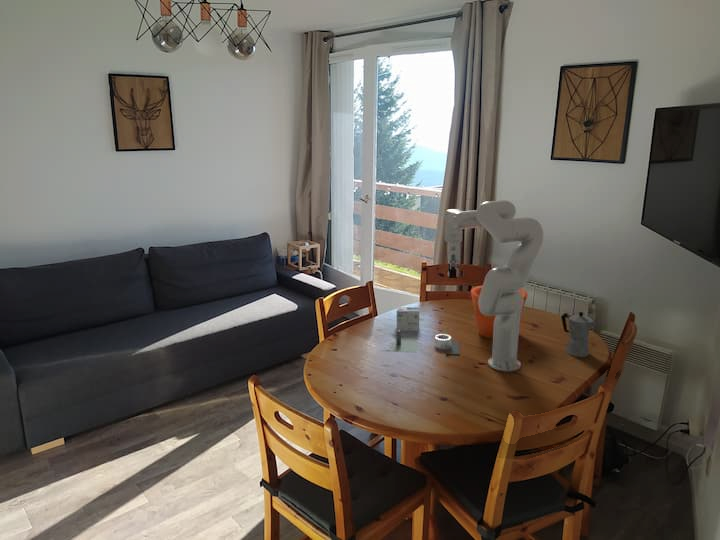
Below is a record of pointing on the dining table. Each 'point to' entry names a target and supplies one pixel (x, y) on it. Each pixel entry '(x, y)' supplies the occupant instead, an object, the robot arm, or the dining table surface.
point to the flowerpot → (484, 321)
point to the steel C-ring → (443, 341)
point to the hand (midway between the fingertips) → (452, 274)
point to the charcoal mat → (453, 348)
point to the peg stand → (404, 344)
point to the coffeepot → (578, 334)
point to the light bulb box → (408, 318)
